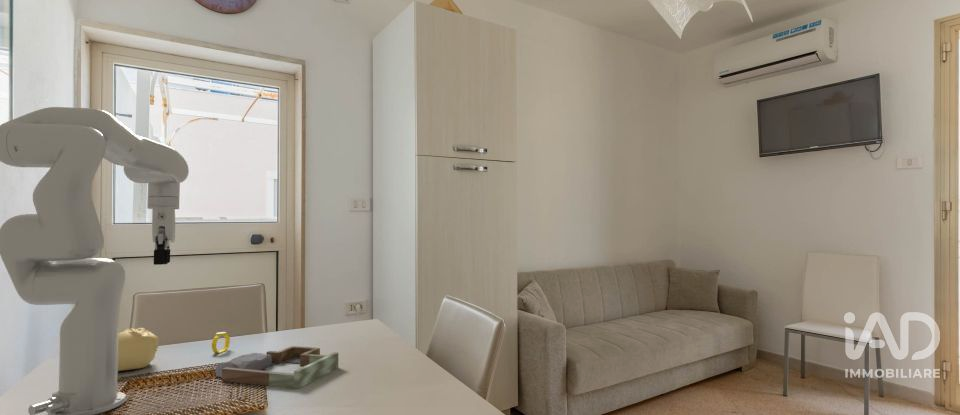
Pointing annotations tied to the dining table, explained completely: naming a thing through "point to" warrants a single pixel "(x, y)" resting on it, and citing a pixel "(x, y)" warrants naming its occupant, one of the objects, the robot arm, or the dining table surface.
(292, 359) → the trap pit pad
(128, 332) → the sculpture
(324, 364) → the channel
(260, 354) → the stone block
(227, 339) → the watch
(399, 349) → the dining table surface
